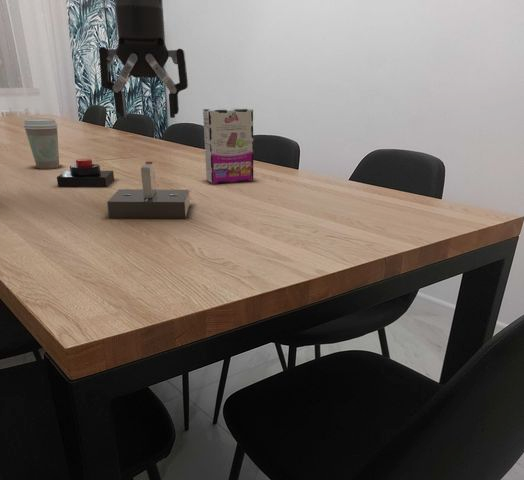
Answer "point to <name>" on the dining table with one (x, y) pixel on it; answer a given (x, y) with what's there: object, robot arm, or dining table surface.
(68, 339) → the dining table surface
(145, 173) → the knob
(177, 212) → the dark grey base plate
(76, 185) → the push button base
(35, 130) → the coffee cup
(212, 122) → the candy bar box
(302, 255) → the dining table surface
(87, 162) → the power button
